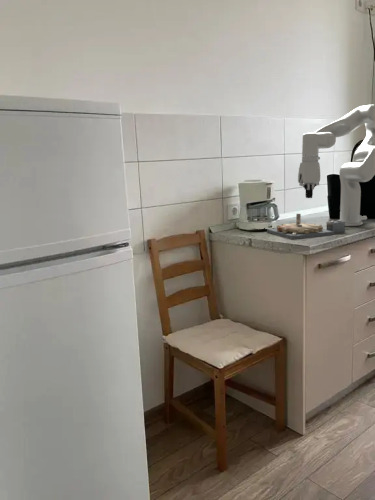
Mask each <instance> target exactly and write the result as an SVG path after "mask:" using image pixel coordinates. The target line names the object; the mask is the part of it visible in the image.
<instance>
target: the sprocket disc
mask: <svg viewBox="0 0 375 500" xmlns="http://www.w3.org/2000/svg"><path fill="white" fill-rule="evenodd" d="M295 219H296V223H295V222H291V223H282V224H280V225H277V227H276V228H277V231H283V232H284V233H287V232H289V233H296V234H297V233H305V234H306V233H311V232H319V231H322V230H323V229H324V227H323V226H322V224H316V223H305V222H302V221H301V219H302V218H301V213H296V218H295Z"/></svg>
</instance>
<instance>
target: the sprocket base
mask: <svg viewBox="0 0 375 500" xmlns="http://www.w3.org/2000/svg"><path fill="white" fill-rule="evenodd" d="M266 233H269V234H272V235H275V236H279V237H283V238H286V239H289V240H290V239H291V240H301V239H307V238H308V239H309V238H316V237H327V236H334V235H335V233H334V231H330V230H327V229H324V228H323V230H322V231H319V232H311V233H306V234H305V233H297V234H296V233H289V232H287V233H284V232H283V231H277V227H274V229H267V230H266Z"/></svg>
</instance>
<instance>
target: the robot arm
mask: <svg viewBox="0 0 375 500" xmlns="http://www.w3.org/2000/svg"><path fill="white" fill-rule="evenodd" d="M363 125H365V130H366V131H365V133H366V135H365V138H364V139H363V141H362V142H361V144H360V145H359V146H358V148H357V150H356V151H355V152H354V154H353V161H349V162H346V163H344V164H343V165H341V167H340V168H339V180H340V205H339V210H340V211H339V220H341V221H343V222H345V227H356V226H359V227H360V226H362V225H363V220H367V219H368V217H367V215H363V216H362V215H361V197H362V194H361V193H362V191H361V190H362V189H361V185H360V183H366V182H370V180H371V181H372V179H373V177H374V176H375V104H367V105H360V106H358V107H356V108H354V109H353V110H351V111H350V112H348V113H346V114H345V115H344V116H342V117H341V118H339V119H337V120H334V121H333V122H331V123H329V124H326V125H324V126H322V127H320V128H319V129H317V130H316V131H314V132H306V133H303V135H302V145H301V148H302V150H301V151H302V153H301V162H300V164H299V167H298V173H297V183H298V184H299V185H298V186H300V187H303V189H304V190H305V198H306V199H312V198H313V192H314V191H313V190H314V189H315V187H317V186H319V185H320V181H321V166H320V162H319V160H320V159H321V157H320V156H319V150H320V149H323V150H324V149H329V148H332V147H333V146H334V145H336V141H337V138H340V137H343V136H346V135H350V134H351V133H352V132H354V131H355V130H357V129H358V128H360V127H361V126H363Z"/></svg>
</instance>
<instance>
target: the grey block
mask: <svg viewBox="0 0 375 500" xmlns="http://www.w3.org/2000/svg"><path fill="white" fill-rule="evenodd" d="M326 230H330V231H334V234H340V233H345V232H346V226H345V222H343V221H341V220H340V219H337V220H330V221H327V222H326Z"/></svg>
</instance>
